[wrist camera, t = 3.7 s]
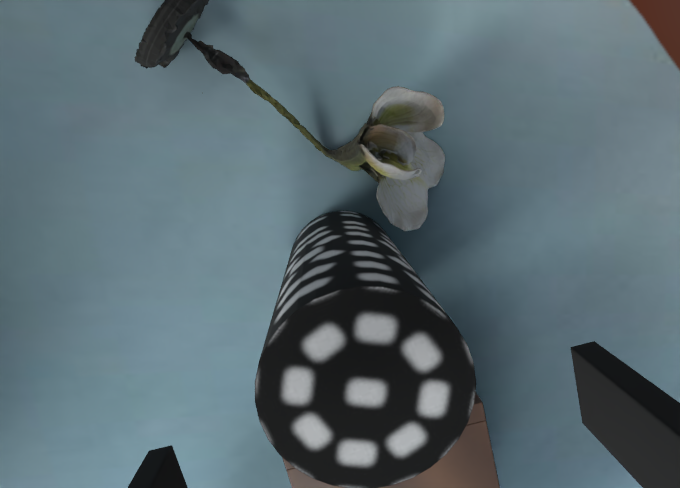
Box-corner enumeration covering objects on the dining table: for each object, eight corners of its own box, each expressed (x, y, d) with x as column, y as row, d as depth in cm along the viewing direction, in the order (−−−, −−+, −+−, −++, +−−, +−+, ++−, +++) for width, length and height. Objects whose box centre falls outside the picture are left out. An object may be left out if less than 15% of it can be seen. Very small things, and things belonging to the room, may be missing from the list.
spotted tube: (401, 217, 36) (495, 299, 17) (386, 317, 38) (454, 497, 18) (296, 204, 36) (265, 273, 16) (285, 306, 37) (245, 479, 18)
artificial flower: (209, -25, 33) (213, -122, 24) (434, 165, 39) (509, 148, 30) (134, 71, 32) (107, 9, 23) (377, 251, 38) (437, 262, 29)
